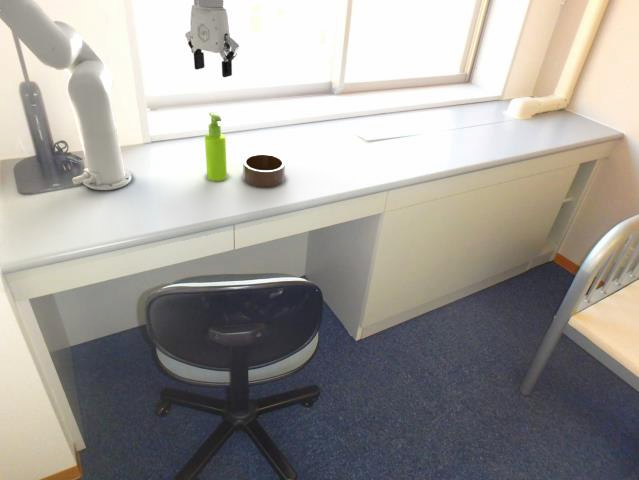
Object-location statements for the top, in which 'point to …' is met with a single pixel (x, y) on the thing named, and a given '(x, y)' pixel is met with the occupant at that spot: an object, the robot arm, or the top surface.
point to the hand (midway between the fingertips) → (213, 72)
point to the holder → (263, 170)
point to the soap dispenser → (215, 150)
